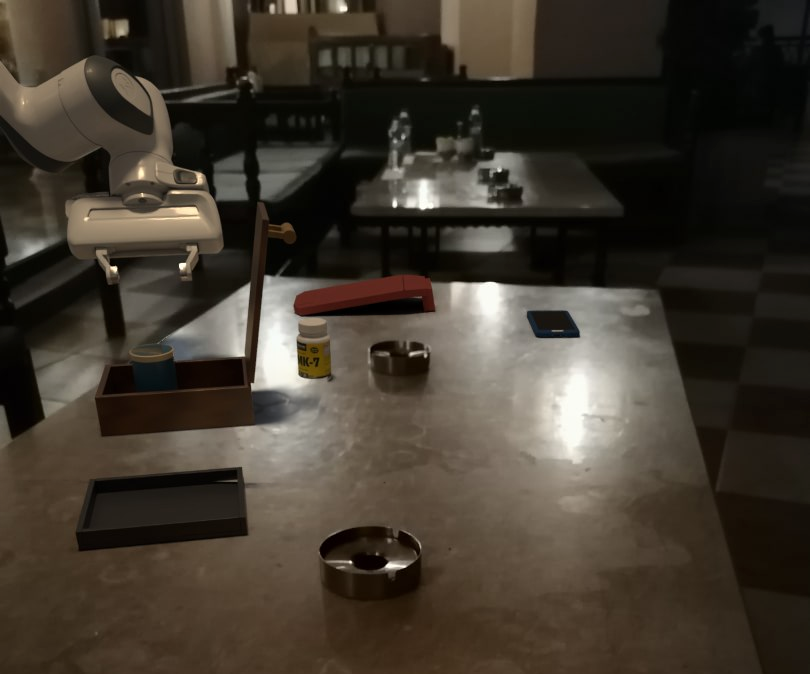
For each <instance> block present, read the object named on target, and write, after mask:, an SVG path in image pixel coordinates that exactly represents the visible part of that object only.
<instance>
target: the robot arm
mask: <svg viewBox="0 0 810 674" xmlns="http://www.w3.org/2000/svg"><path fill="white" fill-rule="evenodd" d="M171 125H172V124H171V121H170V116H169V112H168V108H167V105H166V102H165V99H164V97H163V95H162V93H161V91H160V90H159V89H158V87H156V86H155V85H154V83H152V82H151V81H149V80H148V79H146V78H143V77H142V76H141V77H140V76H136V75H134V74H133V73H132V71H130V70H128V69H127V68H125V66H122V65H121V64H119V63H117V62H115V61H114V60H112V59H109V58H107V57H104V56H100V55H94V54H93V55H90V56H88V57H86V58H83V59H82V60H80V61H78V62H76V63H75V64H73V65H71V66H70V67H68V68H66V69H64V70H62V71H61V72H60V73H59V74H57V75H55V76H53V77H52V78H50V79H48V80H46V81H44V82H42V83H41V84H39V85H37V86H34V87H33V86H32V87H31V86H30V87H29V86H25V85H22V84H20V83H19V82H18V81H17V80H16V79H15V78H14V76H13V75H12V73H10V71H9V70H8V69H7V68H6V66H5V65H4V63H3V62H2V61H1V60H0V129H1V131H2V132H3V134H4V136H5V138H6V139H7V141H8V142H9V144H10V145H11V147H12V148H13V150H14V151H15V152H16V153H17V155H18V157H20V158H21V159H22V160H23V161H24V162H26V164H29V165H30V166H32V167H34V168H36V169H39V170H41V171H44V172H47V173H52V174H58V173H62V172H63V171H65V170H66V169H68V168H69V167H71V166H72V165H74V164H75V163H77V162H78V161H80V160H81V158H83V157H86V156H87V155H89V154H91V153H93V152H94V151H97V150H99V149H101V148H102V149H104V150H106V151H107V152H108V154H109V155H110V160H109V164H108V180H109V191H98V192H97V191H96V192H89V193H87V192H77V193H76V194H75V196H71V197H70V198H68V199H67V200H66V201H65V203H64V211H65V212H64V214H65V218H66V219H67V230H66V238H67V239H66V242H67V245H68V247H69V250H70V252H71V254H72V255H73V256H74V257H75V258H76V259H78V260H96V259H97V261H98V264H99V266H100V267H101V268H102V270H103V271H104V272H105V277H106V282H107V285H108V286H109V285H120V284H121V280H120V277H121V276H120V272H119V268H118V266H111V265H110V263H111V259H119V258H121V259H122V258H140V257H164V256H187V259H186V260H185V262H181V263H178V269H179V277H180V282H191V281H193V273H192V271H193V270H194V268H195V267H196V266H197V263H198V262H199V260H200V259H199V258H200V257H199V255H205V254H206V255H207V254H208V255H209V254H219V253H220V252H221V251H222V250H223V249H224V246H225V244H224V235H223V229H222V222H221V217H220V214H219V210H218V206H217V203H216V201H215V199H214V198H213V196H212V194H210V188H209V184H208V181H207V177H206V175H205V174H203V173H202V172H200V171H196V170H190V169H187V168H184V167H180V166H176V165H174V163H173V161H172V157H173V156H172V155H173V152H174V140H173V132H172V126H171Z"/></svg>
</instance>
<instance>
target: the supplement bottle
mask: <svg viewBox="0 0 810 674" xmlns="http://www.w3.org/2000/svg"><path fill="white" fill-rule="evenodd" d="M297 326H298V327H297V329H298V330H297V331H298V334H297V336H296V339H295V340H296V357H297V374H298V376H299V378H303V379H306V380H307V379H308V380H319V379H324V378H326V382H328V381H329V380H331V379H332V354H331V336H330V334H329V333H327V332H328V323H327V320H326V319H324V318H321V317H308V318H302V319H299V321H298V322H297Z"/></svg>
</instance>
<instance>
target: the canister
mask: <svg viewBox="0 0 810 674" xmlns="http://www.w3.org/2000/svg"><path fill="white" fill-rule="evenodd" d="M128 353H129V359H130V360H131V363H132V367H133V373H134V380H135V386H136V392H137V393H140V392H155V391H169V390H178V383H177V376H176V368H175V361H176V360H175V350H174V347H173V346H172V345H170V344H166V343H148V344H147V343H146V344H141V345H138V346H135V347H133V348H131V349H130V350H129V352H128Z"/></svg>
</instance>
